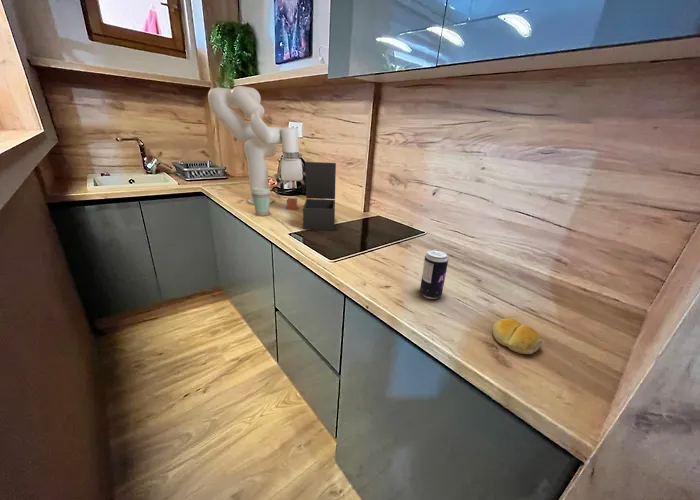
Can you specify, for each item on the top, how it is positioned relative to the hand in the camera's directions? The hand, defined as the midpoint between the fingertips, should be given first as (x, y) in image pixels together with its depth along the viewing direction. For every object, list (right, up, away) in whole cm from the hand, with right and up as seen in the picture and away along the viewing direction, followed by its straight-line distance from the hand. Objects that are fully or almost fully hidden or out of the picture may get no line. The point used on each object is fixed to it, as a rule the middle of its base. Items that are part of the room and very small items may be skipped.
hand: (292, 192), depth 148 cm
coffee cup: (-12, -12, -8) cm, 19 cm away
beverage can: (+49, -40, -68) cm, 93 cm away
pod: (-1, -7, +3) cm, 8 cm away
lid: (+16, +1, -20) cm, 25 cm away
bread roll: (+63, -48, -84) cm, 115 cm away
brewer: (+15, -17, -18) cm, 29 cm away
